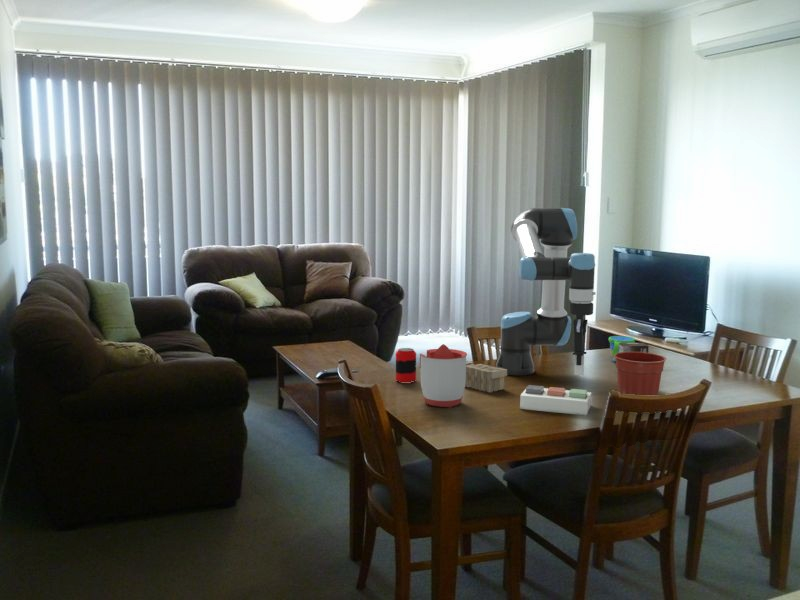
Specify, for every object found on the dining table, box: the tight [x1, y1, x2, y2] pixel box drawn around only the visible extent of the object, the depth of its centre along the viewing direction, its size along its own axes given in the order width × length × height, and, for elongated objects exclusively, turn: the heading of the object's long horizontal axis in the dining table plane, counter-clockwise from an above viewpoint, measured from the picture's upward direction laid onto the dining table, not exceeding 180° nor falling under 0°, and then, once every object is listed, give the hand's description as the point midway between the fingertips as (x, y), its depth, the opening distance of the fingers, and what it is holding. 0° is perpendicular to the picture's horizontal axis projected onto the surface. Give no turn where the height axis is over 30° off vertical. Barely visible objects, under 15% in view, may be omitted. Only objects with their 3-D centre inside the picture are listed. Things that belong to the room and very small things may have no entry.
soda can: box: [395, 347, 417, 382], centre depth 279 cm, size 8×8×12 cm
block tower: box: [465, 360, 508, 393], centre depth 275 cm, size 8×8×29 cm
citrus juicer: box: [416, 344, 468, 408], centre depth 249 cm, size 16×17×20 cm
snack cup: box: [608, 335, 636, 364], centre depth 312 cm, size 16×10×10 cm
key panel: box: [519, 387, 592, 416], centre depth 245 cm, size 21×12×4 cm, turn 70°
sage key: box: [569, 388, 588, 399], centre depth 242 cm, size 5×5×3 cm
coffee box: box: [619, 342, 650, 353], centre depth 270 cm, size 9×6×16 cm
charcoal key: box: [525, 384, 545, 395], centre depth 247 cm, size 5×5×3 cm
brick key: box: [547, 386, 566, 397], centre depth 244 cm, size 5×5×3 cm
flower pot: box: [614, 352, 667, 396], centre depth 248 cm, size 16×16×16 cm
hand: (578, 374), depth 241 cm, fingers closed
